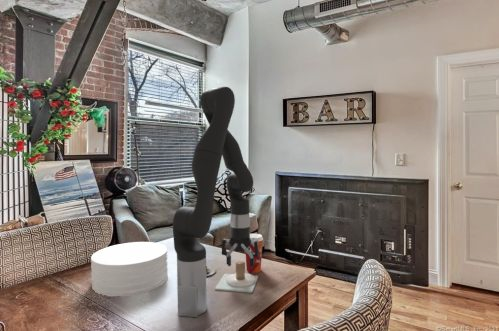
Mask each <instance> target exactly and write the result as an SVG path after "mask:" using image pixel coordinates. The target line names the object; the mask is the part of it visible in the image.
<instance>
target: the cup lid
mask: <svg viewBox="0 0 499 331" xmlns="http://www.w3.org/2000/svg"><path fill="white" fill-rule="evenodd" d="M230 274H231V275H229V276H228V277H227V278H226V282H227V284H228V285H230V286H234V287H246V286H250V285H252V284H253V283H254V282H255V278H254V276H255V275H253V274H252V273H248V272H247V273H246V261H236V262H235V273H230Z"/></svg>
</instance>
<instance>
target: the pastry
mask: <svg viewBox="0 0 499 331" xmlns="http://www.w3.org/2000/svg"><path fill="white" fill-rule="evenodd" d="M216 271H217V269H216V268H214V266H210V265H206V277H210V276H212V275H215V273H216ZM209 272H210V273H209Z"/></svg>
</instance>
